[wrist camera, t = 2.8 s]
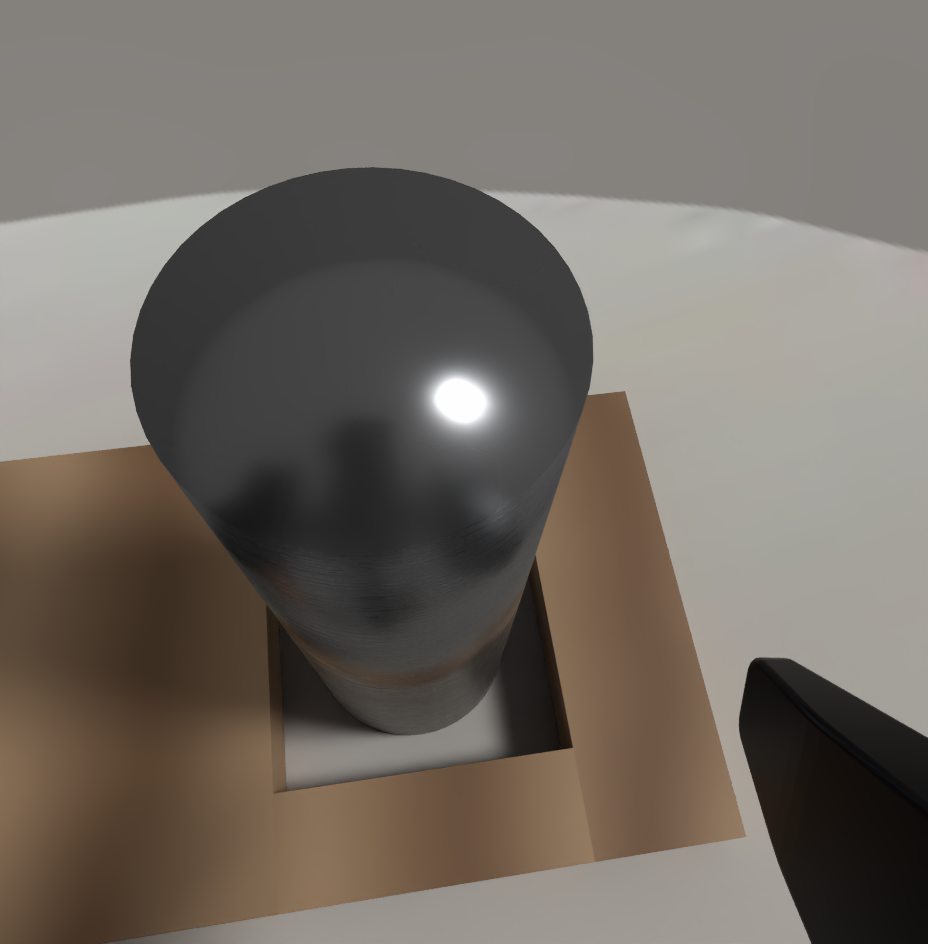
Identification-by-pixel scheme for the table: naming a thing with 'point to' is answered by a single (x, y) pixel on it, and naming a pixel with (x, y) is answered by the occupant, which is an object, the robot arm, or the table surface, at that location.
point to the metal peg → (371, 420)
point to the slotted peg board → (261, 714)
